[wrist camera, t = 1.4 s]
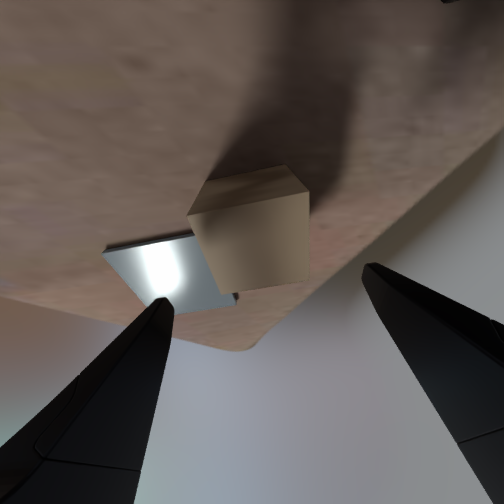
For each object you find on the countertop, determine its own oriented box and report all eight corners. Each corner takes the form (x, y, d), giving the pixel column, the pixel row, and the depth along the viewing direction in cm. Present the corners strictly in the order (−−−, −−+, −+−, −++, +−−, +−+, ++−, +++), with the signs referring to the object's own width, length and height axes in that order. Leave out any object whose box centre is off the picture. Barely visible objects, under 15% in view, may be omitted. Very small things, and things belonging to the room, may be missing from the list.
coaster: (209, 229, 16) (208, 233, 16) (236, 300, 22) (236, 304, 22) (105, 249, 17) (101, 253, 16) (158, 313, 23) (156, 317, 22)
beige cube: (284, 164, 13) (309, 191, 9) (290, 233, 17) (309, 280, 12) (205, 180, 14) (186, 216, 9) (226, 245, 17) (221, 294, 13)
